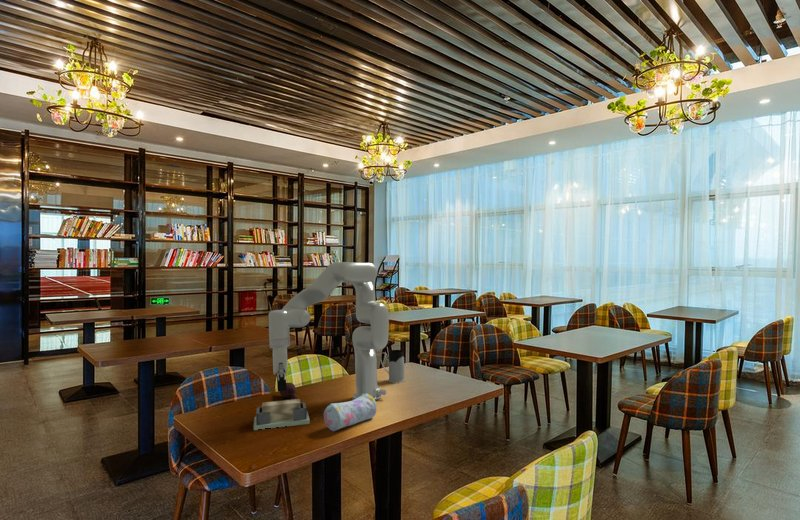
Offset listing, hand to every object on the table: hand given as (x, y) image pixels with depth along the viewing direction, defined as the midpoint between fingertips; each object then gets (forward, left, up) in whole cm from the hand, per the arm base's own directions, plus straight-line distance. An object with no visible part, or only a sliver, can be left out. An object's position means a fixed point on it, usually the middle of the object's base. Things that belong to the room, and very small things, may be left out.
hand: (281, 387), depth 175 cm
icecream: (+14, -31, -13) cm, 37 cm away
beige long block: (0, 0, -12) cm, 12 cm away
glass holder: (-25, -68, -13) cm, 73 cm away
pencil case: (-27, -2, -14) cm, 30 cm away
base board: (0, 0, -13) cm, 13 cm away
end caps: (0, 0, -12) cm, 12 cm away
